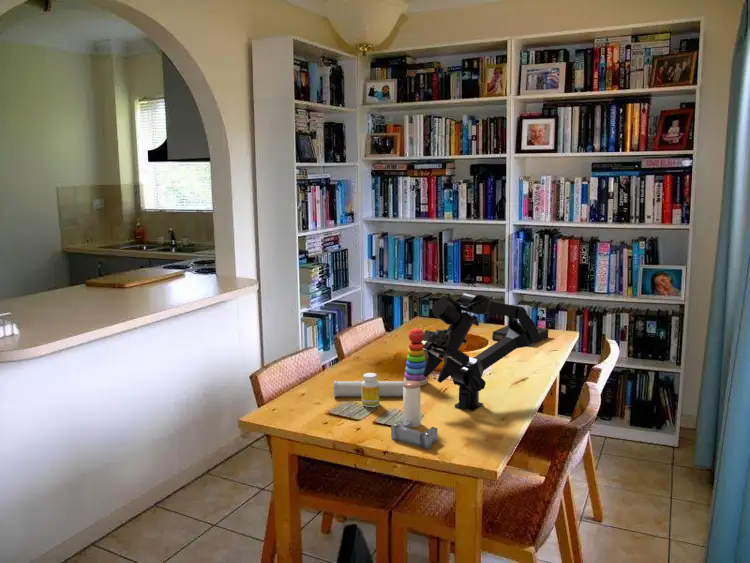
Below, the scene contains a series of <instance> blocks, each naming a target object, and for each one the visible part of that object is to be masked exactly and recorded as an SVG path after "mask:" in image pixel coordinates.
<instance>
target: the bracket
mask: <svg viewBox="0 0 750 563" xmlns="http://www.w3.org/2000/svg"><path fill="white" fill-rule="evenodd" d="M390 429H391V430H390V433H391V435H390V436H391V438H392V440H395V441H398V440H399V442H402V443H404V444H408V445H411V446H415V447H418V448H421V449H424V450H431V449H432V448H433V444H434V443H436V442H438V437H439V436H438V427H435V426H432V427H430V428H428V429H427V430H425V431H423V432H422V431H420V430H416V429H414V428H413V421H410V420H407V421H405V422H404V421H403V422H402V423H400V424H398V423H394V424H392V425H391V426H390Z"/></svg>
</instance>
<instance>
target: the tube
mask: <svg viewBox="0 0 750 563" xmlns="http://www.w3.org/2000/svg"><path fill="white" fill-rule="evenodd" d="M362 381H363V380H361V381H360V380H358V381H357V380H355V381H354V380H352V381H351V380H348V381H346V380H345V381H343V380H342V381H341V380H340V381H339V380H334V382H333V397H334V398H337V397H338V398H339V397H340V398H341V397H342V398H344V397H345V398H347V397H348V398H349V397H351V398H355V397H356V398H357V397H358V398H359V397H361V398H362V391H361V383H362ZM377 381H378V382H379V398H382V397H385V398H386V397H396V398H397V397H399V398H400V397H403V383H404V382H406V381H404V380H403V381H401V380H400V381H397V380H395V381H393V380H389V381H386V380H385V381H382V380H380V381H379V380H377Z"/></svg>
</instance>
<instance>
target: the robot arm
mask: <svg viewBox="0 0 750 563" xmlns="http://www.w3.org/2000/svg"><path fill="white" fill-rule="evenodd" d="M431 313H432V314H433V315H434V316H435V317H436V318H437V319H439V320H440V321H441V322H443V323H445V324H446V325H449V326H448V327H447V329H445V328H443V329H435V331H433V330H428V329H427V330H426V329H425V330H424V331H423V333H424V338H423V341H422V342H424V343H423V344H424V346H423V349H424V355H425V362H426V364H425V369H424V374H423V376H425V377H426V378H427V377H429V376H430V374H432V372H433V371H434V370H435V369H436V368H438V366H439V365H440V364H441V363H442V362H443V365H442V368H441V370H440V371H439V375H438V377H437V382H438V383H440V384H441V383H443V382H444V381H445V380H447V379H448V378H449V377H450V378H451V380H452V383H453V385H456V386H458V387H459V388H458V403H456V404H454V408H459V409H462V410H466V411H470V412H474V411H476V410H477V409H479V408H480V407H482V406H484V402H483V403H482V402H479V401H480V396H479V394H480V392H481V391H482V390H485V388H486V383H487V381H485V379H484V378H483V377H482V376H483V373H484V371H486V370H487V369H488V368H490V367H492V366H493V365H494V364H496V363H497V362H499V361H500V360H502V359H503V358H505V357H506V356H507V355H509V354H511V353H512V352H513V351H515V350H516V349H522V348H527V347H529V346H530V345H532V344H534V343H535V342H536V341H537V340H538V337H539V333H538V330H537V328H536V327H537V326H536V323H535V321H533V319H532V318H531V317H530V316H529V315H528V313H527V310H526V309H525V307H523V306H520V305H517V304H508V303H504V302H499V301H494V300H491V299H490V298H489V297H487V296H484V295H483V294H478V293H473V292H471V291H465V292H464V293H462V294H461V296H460V297H458V298H455V299H453V298H452V297H451V296H450V295H446V294H444V295H443V297H442V298H440V299H438V300H436V302H435V303H434V304H433V305H432V309H431ZM469 313H471V314H473V315H471V314H469ZM474 314H475V315H474ZM487 314H494V315H499V316H505V317H507V319H508V320H507V321H508V322H507V326H509V328H510V329H509V330H508V332H507V335H506V337H504V338H503V339H501V340H500V341H496V342H494V344H492V345H491V346H489V347H488V348H486V349H484V350H483V351H482V352H479V354H477V355H475V356H474V357H472V356H469V355H468V354H466V353H464V351H462V350H460V348H461V346H462V345H463V344H466V343H467V342H468V339H466V337H467V336H468V334H469V332H470V330H471V328H472V327H473V326H476V327H479V325H480V323H479V321H478V320H479V319H478V316H476V315H487ZM534 345H535V344H534ZM532 346H533V345H532ZM530 347H531V346H530Z"/></svg>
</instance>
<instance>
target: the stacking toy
mask: <svg viewBox="0 0 750 563" xmlns="http://www.w3.org/2000/svg"><path fill="white" fill-rule="evenodd" d="M423 338H424V331H423V330H422V329H421V328H417V327H415V328H413V329H411V330H410V331H409V333H408V339H409V341H410V342H409V343H408V349H407V356H406V359H407V360H406V362H405V364H406V366H405V368H404V370H405V372H404V373H403V375H404V378H403V381H418V382H420V387H422V386H425V385H427V384H428V378H427V377H425V376H423V374H424V369H425V364H426V354H425V352H424V350H425V349H424V348H423V346H424V344H425V343H424V341H423Z"/></svg>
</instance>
